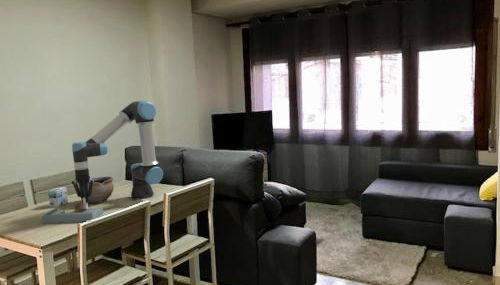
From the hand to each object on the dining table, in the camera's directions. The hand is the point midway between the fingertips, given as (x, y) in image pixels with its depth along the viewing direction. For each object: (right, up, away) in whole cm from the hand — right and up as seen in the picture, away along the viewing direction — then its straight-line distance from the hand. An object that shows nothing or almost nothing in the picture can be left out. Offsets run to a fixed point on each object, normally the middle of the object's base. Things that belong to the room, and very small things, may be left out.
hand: (86, 208), depth 245 cm
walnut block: (-3, -2, 0) cm, 3 cm away
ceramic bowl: (-6, -1, +34) cm, 35 cm away
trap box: (-6, -5, -3) cm, 8 cm away
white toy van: (-30, -3, +31) cm, 43 cm away
